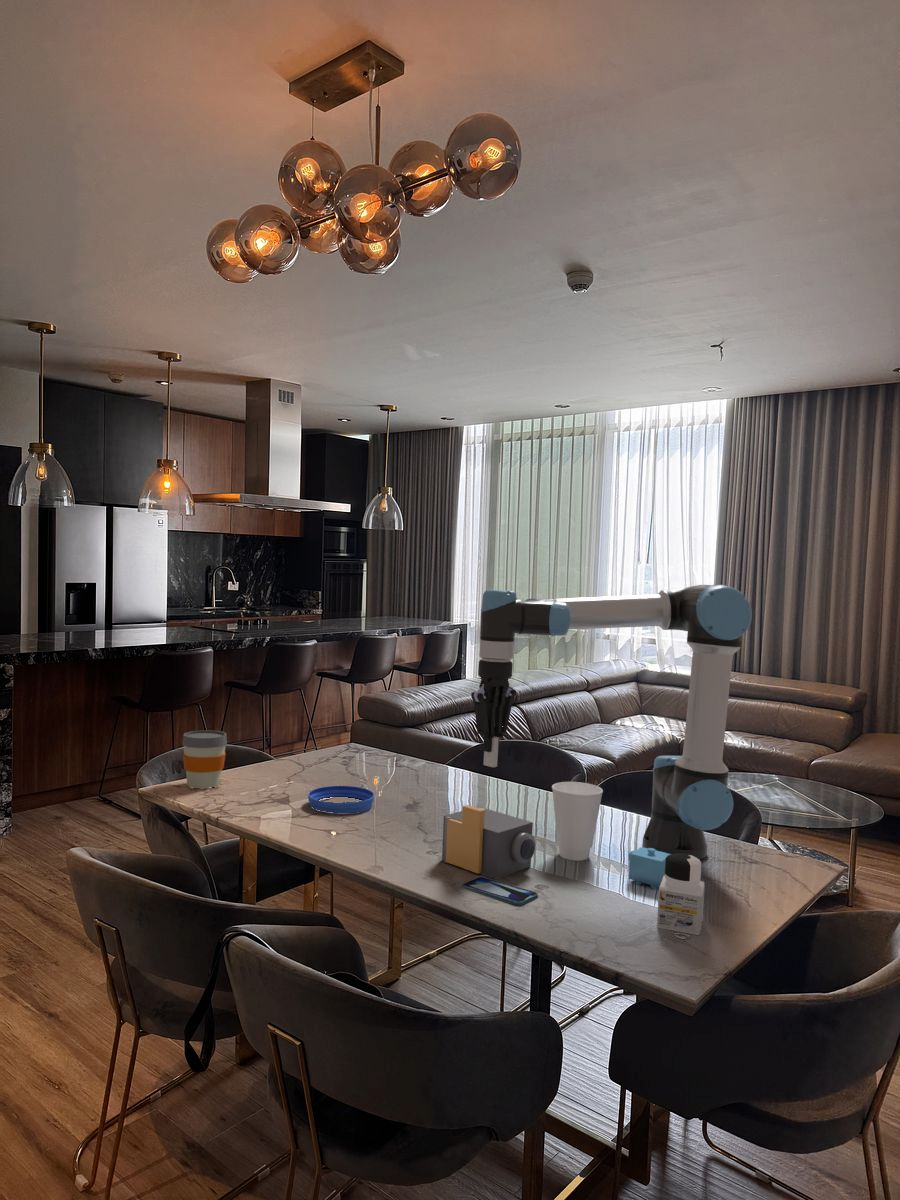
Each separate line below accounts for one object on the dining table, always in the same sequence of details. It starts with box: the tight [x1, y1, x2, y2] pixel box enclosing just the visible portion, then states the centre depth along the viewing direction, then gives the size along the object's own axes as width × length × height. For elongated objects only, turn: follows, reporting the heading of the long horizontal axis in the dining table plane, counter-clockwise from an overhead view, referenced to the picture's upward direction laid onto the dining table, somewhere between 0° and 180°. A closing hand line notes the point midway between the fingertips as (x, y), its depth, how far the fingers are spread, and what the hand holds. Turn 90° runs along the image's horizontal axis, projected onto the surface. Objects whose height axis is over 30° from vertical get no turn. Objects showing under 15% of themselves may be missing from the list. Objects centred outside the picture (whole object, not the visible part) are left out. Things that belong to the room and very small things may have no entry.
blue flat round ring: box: [307, 785, 375, 814], centre depth 229 cm, size 18×18×4 cm
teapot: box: [628, 846, 671, 890], centre depth 179 cm, size 12×6×8 cm, turn 54°
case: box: [441, 806, 536, 880], centre depth 186 cm, size 18×12×11 cm, turn 47°
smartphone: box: [461, 876, 539, 906], centre depth 171 cm, size 7×1×15 cm
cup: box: [551, 781, 604, 862], centre depth 195 cm, size 12×12×16 cm
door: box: [442, 804, 485, 875], centre depth 183 cm, size 11×2×14 cm, turn 47°
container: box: [656, 853, 705, 936], centre depth 158 cm, size 8×8×13 cm
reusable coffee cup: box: [182, 729, 228, 789], centre depth 243 cm, size 12×13×15 cm
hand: (490, 765), depth 185 cm, fingers closed
